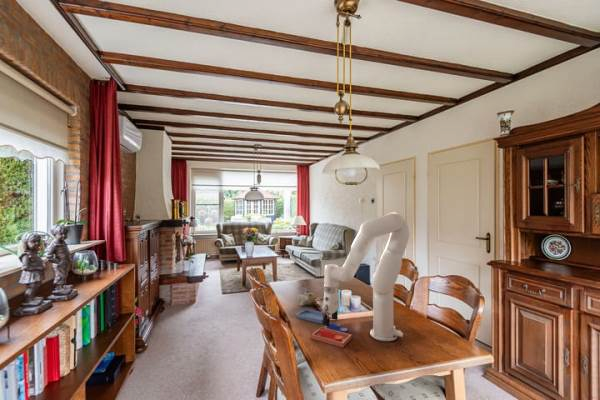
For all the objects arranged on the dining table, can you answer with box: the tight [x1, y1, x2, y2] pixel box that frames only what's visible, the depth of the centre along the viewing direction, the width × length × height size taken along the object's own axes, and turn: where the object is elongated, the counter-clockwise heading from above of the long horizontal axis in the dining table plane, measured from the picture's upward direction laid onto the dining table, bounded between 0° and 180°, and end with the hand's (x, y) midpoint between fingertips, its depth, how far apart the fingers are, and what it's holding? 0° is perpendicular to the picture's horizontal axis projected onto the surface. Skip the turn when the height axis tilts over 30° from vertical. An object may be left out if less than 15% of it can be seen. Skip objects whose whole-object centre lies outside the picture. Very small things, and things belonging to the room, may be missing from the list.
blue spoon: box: [326, 321, 349, 334], centre depth 142 cm, size 11×4×3 cm, turn 58°
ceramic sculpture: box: [297, 291, 318, 307], centre depth 180 cm, size 11×9×15 cm
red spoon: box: [321, 329, 342, 342], centre depth 133 cm, size 11×4×3 cm, turn 58°
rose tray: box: [310, 326, 353, 348], centre depth 133 cm, size 16×10×2 cm, turn 58°
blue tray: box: [295, 308, 331, 325], centre depth 159 cm, size 16×10×2 cm, turn 58°
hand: (330, 322), depth 144 cm, fingers open, 9 cm apart
